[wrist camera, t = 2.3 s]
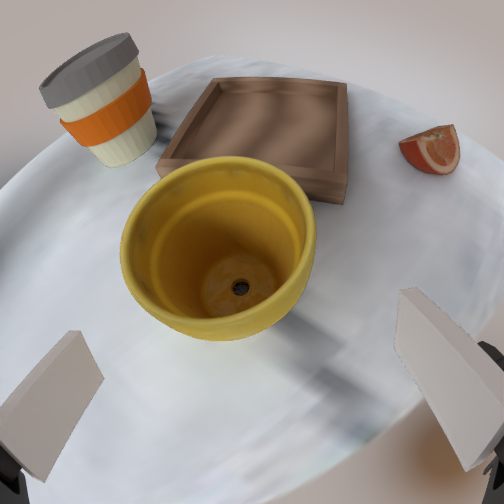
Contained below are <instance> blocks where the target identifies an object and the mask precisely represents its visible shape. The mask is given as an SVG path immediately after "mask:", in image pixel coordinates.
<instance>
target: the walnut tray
mask: <svg viewBox="0 0 504 504" xmlns="http://www.w3.org/2000/svg"><path fill="white" fill-rule="evenodd" d="M220 156H240V157H248V158H253V159H257V160H260V161H264V162H266V163H269V164H271V165H273V166H275V167H277V168H279V169H281V170H282V171H284V172H285V173H287V174H288V175H289V176H290V177H291V178H293V179H294V180H295V181H296V182H297V183H298V185H299V186H300V187H301V188H302V190H303V191H304V193H305V194H306V196H307V198H308V200H314V201H321V202H328V203H334V204H341V205H343V201H344V197H345V192H346V187H347V177H348V102H347V84H346V83H339V82H331V81H322V80H312V79H299V78H279V77H232V78H213V80H212V81H211V82H210V84H209V85H208V87H207V88H206V89H205V91H204V92H203V93H202V95H201V96H200V98H199V99H198V100H197V102H196V103H195V105H194V106H193V108H192V109H191V110H190V112H189V113H188V115H187V116H186V118H185V119H184V121H183V122H182V124H181V125H180V127H179V129H178V130H177V132H176V133H175V135H174V136H173V138H172V140H171V141H170V143H169V144H168V146H167V148H166V149H165V151H164V153H163V154H162V156H161V158H160V159H159V161H158V163H157V165H156V166H155V168H156V170H157V172H158V174H159V176H160V177H161V179H162V178H163V177H165V176H166V175H168V174H169V173H171V172H173V171H175V170H176V169H178V168H180V167H183V166H185V165H187V164H190V163H192V162H195V161H199V160H202V159H207V158H212V157H220Z"/></svg>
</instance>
